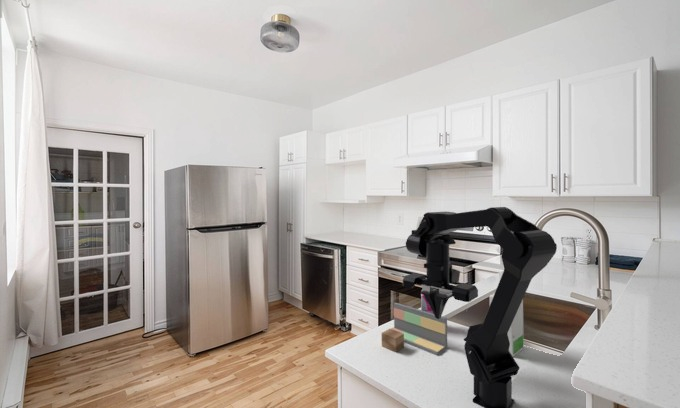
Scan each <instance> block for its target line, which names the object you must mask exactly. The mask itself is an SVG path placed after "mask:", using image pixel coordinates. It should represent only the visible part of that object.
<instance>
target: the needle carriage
mask: <svg viewBox="0 0 680 408" xmlns="http://www.w3.org/2000/svg"><path fill="white" fill-rule="evenodd" d="M381 347H382V348H385V349H387V350H389V351H392V352H394V353H397V352H398V351H400V350H402V349H403V348H404V347H405V343H404V334H403V333H401V332H398V331H395V330H393V329H391V328H388V329H386V330H384V331H382V332H381Z"/></svg>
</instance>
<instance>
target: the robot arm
mask: <svg viewBox="0 0 680 408" xmlns="http://www.w3.org/2000/svg"><path fill="white" fill-rule="evenodd" d="M480 227H481V228H482V227H488V229H490V230H491V234H492V236H493V239H494V241H495V243H497V244H498V246H500V248H501V249H502V252H501V261H502V265H503V268H504V269H503V271H502V274H501V277H500V280H499V282H498V285H497V287H496V290H495V292H494V293H495V294H494V293H493V294H494V297H493V299H492V302H491V304H490V303H489V307H488V309H487V311H486V315H485V317H484V319H483V322H482V323H478V324H473V325H470V326H469V328H468V329H467V334H466V336H465V338H463V341H464V352H465V356H466V357H465V358H466V360H467V361H466V362H467V364H468V368H469V372H470V374H471V376H473V395H474V397H473V398H472V402H473V404H476V405H478V406H480V407H482V408H512V407H513V405H514V404H515V402H516V401H515V399H514V398H512V397H513V395H512V394H513V393H512V392H513V390H512V389H513V388H512V387H513V385H512V384H513V382H512V381H513V379H512V378H513V377H512V376H517V375H518V374H519V371H520V366H519V365H518V363H517V362H516V360H515V358H514V357H512V355H511V353H510V352H509V346H510V342H509V338H508V335H507V334H508V331H509V329H510V326H511V324H512V322H513V320H514V317H515V315H516V313H517V311H518V308H519V306H520V304H521V302H522V300H523V301H524V297H525V295H526V293H527V290H528V288H529V286H530V285H531V284H530V283H531V281H532V279H533V278H534V277H535V276H536V275H537V274H538V273H540V272H541V271H542V270H543V269H545V268H546V266H548V264H549V263H550V261H551V260H552V259H553V258H554V256H555V254H556V252H557V247H558V246H557V245H558V244H557V243H556V242H555V240H554V237H553V236H552V235H551V234H550V233H548V232H547V231H545V230H541V228H539V227H538V226H537V225H536V224H534V223H532V222H530V221H529V220H527V219H525V218H523V217H522V216H520V215H518V214H516V213H515V212H514V211H513V210H512V209H510V208H508V207H505V206H499V207H498V206H497V207H489V208H487V209H479V210H471V211H464V212H453V211H433V212H431V211H429V212H425V213H424V214H423V217H422V219H421V221H420V223H419V225H418V226H417V229H412V230H411V234H410V235H409V236H408V237H407V239H406V241H405V247H406V249H407V251H408V252H409V253H412V254H416V255H420V256H423V257H426V262H425V263H423V269H424V268H425V269H426V276H425V275H424V274H419V273H415V272H414V273H413V272H412V273H410V274H407V275H404V277H403V279H402V287H403V288H408V289H413V288H414V287H415V285H417V286H421V288H422V289H421V291H420V295H421V294H423V295H424V297H425V298H426V300H427V302H428V303H429V305H430V307H431V309H432V311H433V313H434V315H435V317H436V318H437V319H440V318H441V316H442V315H443V312H444V311H445V310H444V309H445V307H446V304H447V303H448V301H449V299H450V298H454V300H457V301H461V302H465V303H470V302H471V301H474V300H475V299H476V298H478V296H479V290H478V288H477V286H476V285H475V284H470V283H465V282H461V283H459V282H460V275H461V271H460V270H458V269H455V268H453V264H452V262H450V245H455V244H456V240H455V239H454V238H453V237H451V235H450V234H449V233H451V232H456V231H458V230H460V229H468V228H480ZM453 283H457V285H452V284H453Z"/></svg>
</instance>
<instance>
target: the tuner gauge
mask: <svg viewBox="0 0 680 408" xmlns="http://www.w3.org/2000/svg"><path fill="white" fill-rule="evenodd" d="M393 319H394V321H393V322H394V324H393V326H394V327H391V328H390V329H393V330H395V331H398V332H401V333H403V334H404V344H407V345H410V346H413V347H414V348H417V349H420V350H422V351H425V352H426V353H430V354H431V355H434V356H439V354H441V353H442V352H444V351H445V350H446V349H447V348H448V317H447V316H446V317H445V316H442V315H441V318H440V319H437V318H436V317H435V315H434V314H433V313H429V312H426V311H422V310H421V309H419V308H415V307H412V306H409V305H406V304H402V303H398V302H394V303H393Z"/></svg>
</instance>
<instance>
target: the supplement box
mask: <svg viewBox="0 0 680 408" xmlns="http://www.w3.org/2000/svg"><path fill="white" fill-rule="evenodd" d="M420 298H421V299H420V300H421V301H420V310H422V311H426V312H429V313H433V311H432V309H431V307H430V305H429V303H428V302H427V300H426V298H425V297H424V295H423V294H421V293H420ZM433 314H434V313H433Z"/></svg>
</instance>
